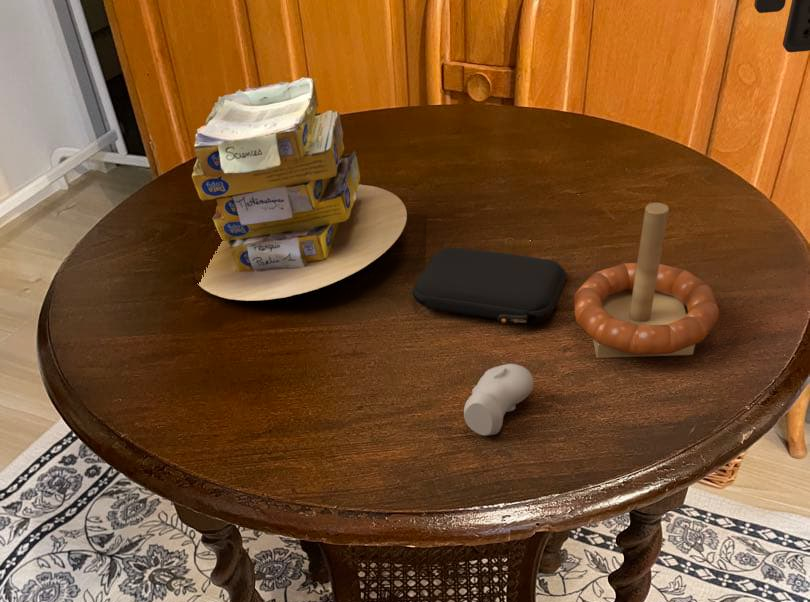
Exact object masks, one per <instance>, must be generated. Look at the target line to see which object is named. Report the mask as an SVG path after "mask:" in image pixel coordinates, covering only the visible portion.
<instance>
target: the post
mask: <svg viewBox="0 0 810 602" xmlns="http://www.w3.org/2000/svg"><path fill="white" fill-rule="evenodd" d="M669 210H670V207H669V206H668V205H667V204H665V203H662V202H650V203H648V204H647V205H646V206H645V208H644V213H643V214H644V215H643V221H642V227H641V234H640V242H639V247H638V255H637V261H636V263H637V267H636V274H635V280H634V287H633V290H625V291H623V292H620V293H617V294H614V295H611V296H609V297H607V298H606V299H605V300H604V301H603V302H602V307H603V309H604V310H605V311H607V312H608V313H609V314H610V315H611V316H613V317H614V318H616V319H619V320H623V321H626V322H629V323H633V324H636V325H666V324H669V323H672V322H674V321H677V320H680V319H682V318H684V317H685V316H686V315H687V313H688V312H687V311H686V310H687V309H686V308H685V304H683V303H682V302H680V301H679V300H678V299H676V298H675V297H674V296H671V295H667V294H663V293H660V292H656V291H655V287H656V282H657V276H658V270H659V264H661V257H662V252H663V245H664V240H665V233H666V228H667V222H668V218H669V212H670V211H669ZM592 341H593V346H594V351H595V356H596V358H597V359H605V358H606V359H608V358H639V357H641V358H642V357H667V356H668V357H669V356H670V357H672V356H693V355H694V351H695V347H696V344H694V345H692V346H689V347H686V348H684V349H681V350H679V351H676V352H673V353H670V354H630V353H627V352H623V351H620V350H617V349H614V348H610V347H607V346H604V345H601V344H599V343H598V342H597V341H595V340H594V339H593V338H592Z"/></svg>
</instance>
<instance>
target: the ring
mask: <svg viewBox="0 0 810 602" xmlns="http://www.w3.org/2000/svg"><path fill="white" fill-rule="evenodd" d="M636 267H637V262H626V263H625V262H624V263H619V264H616V265H613V266H610V267H608V268H605V269H602V270H599V271H596V272H594V273H592V274H591V275H590V276H589V277H588V278H587V279H586V280H585V282H584V283H583V284H582V285H581V286H580V287H579V288H578V289H577V290H576V291H575V293H574V295H573V307H574V315H575V321H576V324H577V325H578V327H579V328H580V329H582V330H583V331H584V332H585V333H586V334H587V335H589V336H590V337H591V338H592V340H593V339H594V340H595V341H597V342H598V343H599V344H601V345H604V346H607V347H610V348H614V349H617V350H620V351H623V352H627V353H630V354H670V353H673V352H676V351H679V350H681V349H684V348H686V347H689V346H692V345H694V344H695V345H696V344H699V343H701V342H702V341H704V339H705V338H706V337H707V335H708V334H709V332H710V331H711V330H712V328H714V326H715V324H716V323H717V321H718V319H719V316H720V310H719V306H718V303H717V300H716V296H715V293H714V291H713V288H712V287H711V286H709V284H707V283H706V282H704V281H703V280H701V279H700V278H698V277H697V276H696V275H694V274H692V273H691V272H690V271H689V270H686V269H682V268H679V267H674V266H671V265H667V264H662V263H660V264H659V270H658V276H657V282H656V287H655V291H656V292H660V293H663V294H667V295H671V296H674V297H675V298H676V299H678V300H679V301H680V302H682V303H683V304H684V306H686V308H687V309H686V310H687V312H686V313H687V315H686V316H685V317H684V318H682V319H680V320H677V321H674V322H672V323H669V324H666V325H636V324H633V323H629V322H626V321H623V320H619V319H616V318H614V317H613V316H611V315H610V314H609V313H608V312H607V311H605V310H604V309H603V307H602V302H603V301H604V300H605V299H606V298H607V297H609V296H611V295H614V294H617V293H620V292H623V291H633V287H634V280H635V274H636Z"/></svg>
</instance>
